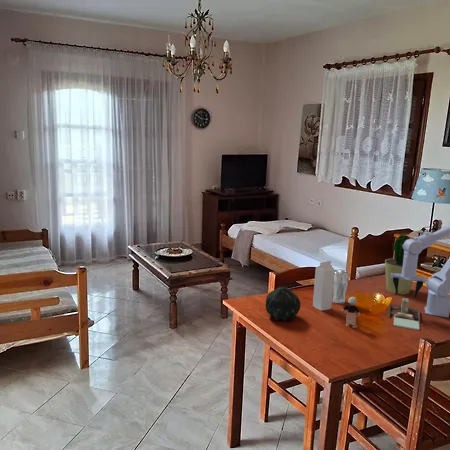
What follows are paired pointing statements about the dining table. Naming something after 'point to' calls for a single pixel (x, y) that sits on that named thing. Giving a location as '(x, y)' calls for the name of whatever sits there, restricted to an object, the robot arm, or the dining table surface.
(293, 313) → the squash
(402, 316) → the offcut stack
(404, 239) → the potted cactus
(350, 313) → the grandmother figurine
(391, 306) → the metal rack
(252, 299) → the dining table surface
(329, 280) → the milk
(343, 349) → the dining table surface
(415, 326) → the sage mat
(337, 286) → the beer glass
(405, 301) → the tall beige block
